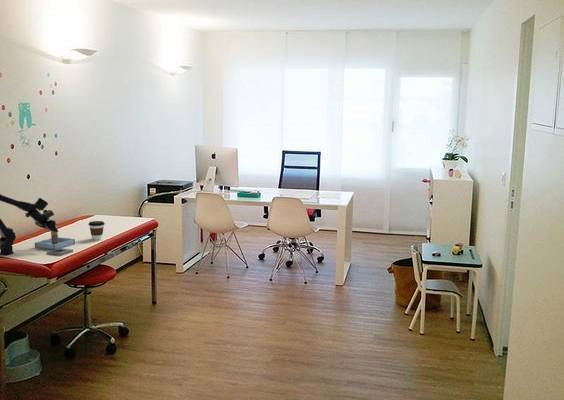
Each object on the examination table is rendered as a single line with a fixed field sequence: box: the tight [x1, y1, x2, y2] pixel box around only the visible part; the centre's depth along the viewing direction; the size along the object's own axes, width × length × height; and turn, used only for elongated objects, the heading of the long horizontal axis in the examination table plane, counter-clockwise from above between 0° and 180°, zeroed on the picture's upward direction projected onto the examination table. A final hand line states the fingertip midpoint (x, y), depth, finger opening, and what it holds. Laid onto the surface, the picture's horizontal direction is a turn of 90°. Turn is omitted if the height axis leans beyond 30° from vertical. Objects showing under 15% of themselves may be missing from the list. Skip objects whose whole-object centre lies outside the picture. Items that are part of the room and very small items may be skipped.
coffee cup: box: [88, 220, 106, 241], centre depth 388 cm, size 11×11×12 cm
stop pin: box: [50, 221, 59, 245], centre depth 364 cm, size 5×5×15 cm
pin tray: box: [34, 236, 76, 251], centre depth 365 cm, size 20×16×4 cm
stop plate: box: [46, 247, 74, 257], centre depth 347 cm, size 11×11×2 cm
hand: (54, 230), depth 364 cm, fingers open, 9 cm apart
